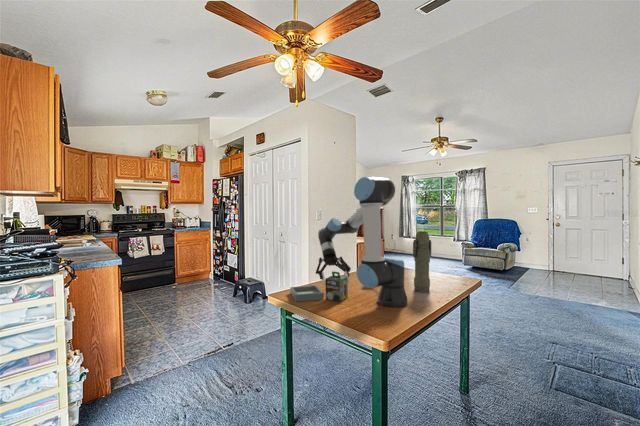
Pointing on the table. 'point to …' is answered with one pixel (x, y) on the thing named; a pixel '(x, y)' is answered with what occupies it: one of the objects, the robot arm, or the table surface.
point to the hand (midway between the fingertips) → (336, 283)
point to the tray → (306, 293)
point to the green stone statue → (422, 261)
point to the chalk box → (336, 287)
